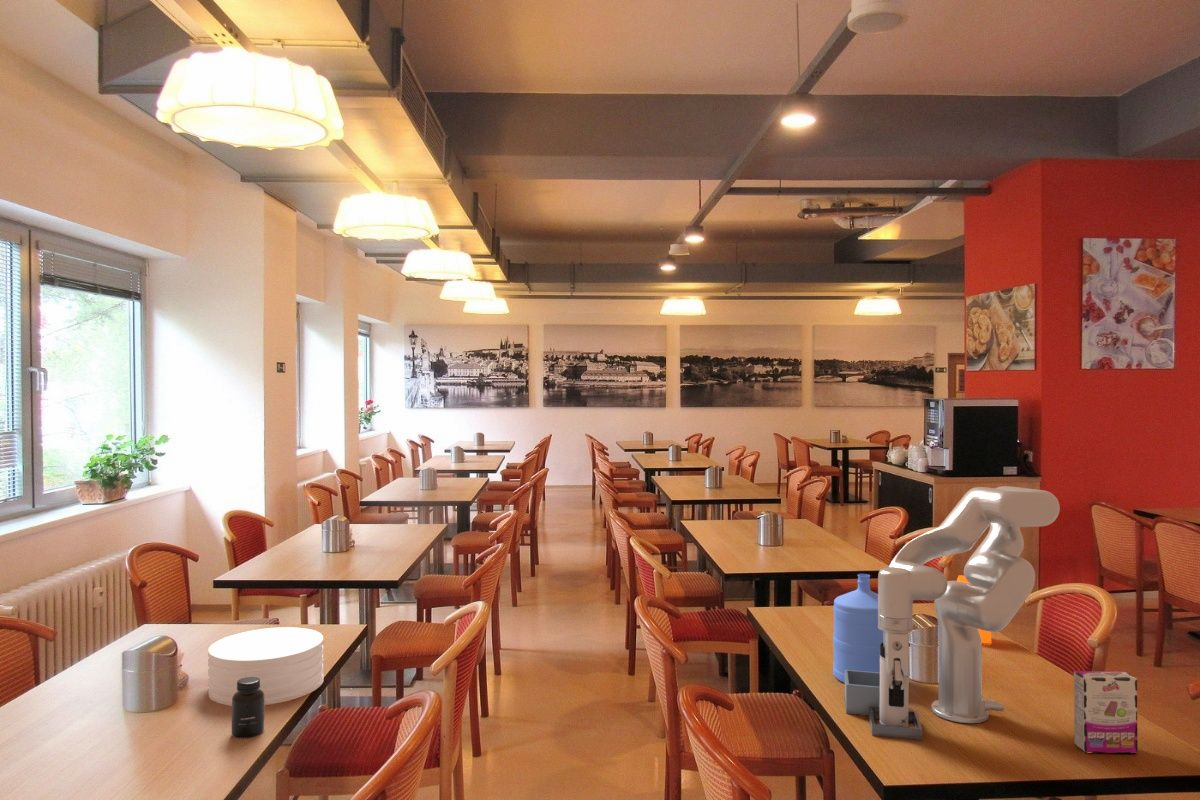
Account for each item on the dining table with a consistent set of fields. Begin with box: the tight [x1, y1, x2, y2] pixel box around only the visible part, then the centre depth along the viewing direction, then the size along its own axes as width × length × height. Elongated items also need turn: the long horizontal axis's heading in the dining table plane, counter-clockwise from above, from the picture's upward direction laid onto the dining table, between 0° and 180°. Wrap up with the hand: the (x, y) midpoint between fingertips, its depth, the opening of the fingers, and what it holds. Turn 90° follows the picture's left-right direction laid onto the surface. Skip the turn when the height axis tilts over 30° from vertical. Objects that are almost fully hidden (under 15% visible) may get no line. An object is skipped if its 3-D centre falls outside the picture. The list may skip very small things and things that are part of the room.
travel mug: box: [879, 642, 911, 727], centre depth 187 cm, size 6×7×20 cm
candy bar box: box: [1073, 670, 1139, 753], centre depth 176 cm, size 11×5×16 cm, turn 87°
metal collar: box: [868, 707, 923, 741], centre depth 187 cm, size 11×11×2 cm
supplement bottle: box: [231, 677, 265, 739], centre depth 184 cm, size 7×7×12 cm
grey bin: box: [844, 670, 880, 717], centre depth 199 cm, size 11×11×7 cm
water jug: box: [832, 573, 883, 684], centre depth 219 cm, size 16×16×28 cm
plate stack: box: [207, 626, 325, 707], centre depth 214 cm, size 28×28×12 cm
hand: (894, 699), depth 187 cm, fingers closed on travel mug, 6 cm apart
